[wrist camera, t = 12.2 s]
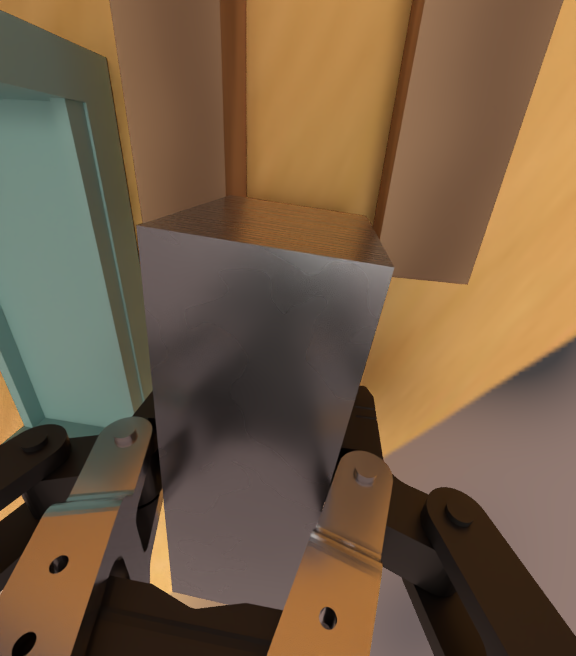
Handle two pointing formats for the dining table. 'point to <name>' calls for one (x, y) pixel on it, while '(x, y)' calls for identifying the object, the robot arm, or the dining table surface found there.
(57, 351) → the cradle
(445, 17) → the slotted beam
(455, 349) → the dining table surface
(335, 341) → the grey rectangular block
